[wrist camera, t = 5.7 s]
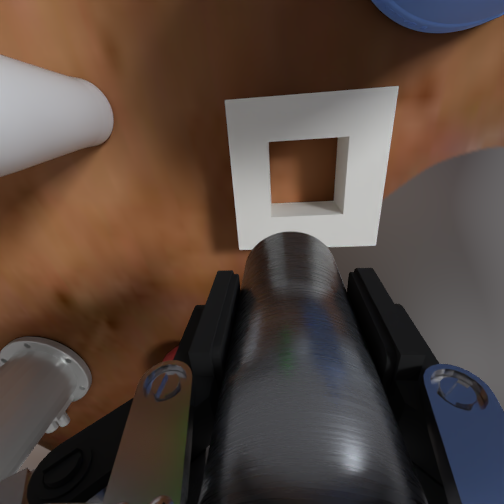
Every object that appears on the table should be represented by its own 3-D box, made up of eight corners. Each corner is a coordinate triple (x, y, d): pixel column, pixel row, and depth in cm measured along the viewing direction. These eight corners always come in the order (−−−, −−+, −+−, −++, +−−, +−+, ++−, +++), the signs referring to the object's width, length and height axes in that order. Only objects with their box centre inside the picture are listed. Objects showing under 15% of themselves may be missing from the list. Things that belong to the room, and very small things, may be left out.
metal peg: (332, 308, 13) (452, 729, 4) (248, 308, 13) (194, 692, 5) (338, 229, 11) (571, 676, 2) (241, 233, 12) (131, 624, 3)
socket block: (362, 228, 28) (375, 245, 24) (243, 233, 29) (239, 249, 25) (378, 90, 22) (398, 85, 19) (231, 102, 23) (224, 100, 20)
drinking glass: (125, 160, 26) (-28, 210, 13) (53, 145, 26) (-178, 179, 13) (124, 78, 23) (-77, 31, 10) (43, 59, 23) (-277, -15, 10)
